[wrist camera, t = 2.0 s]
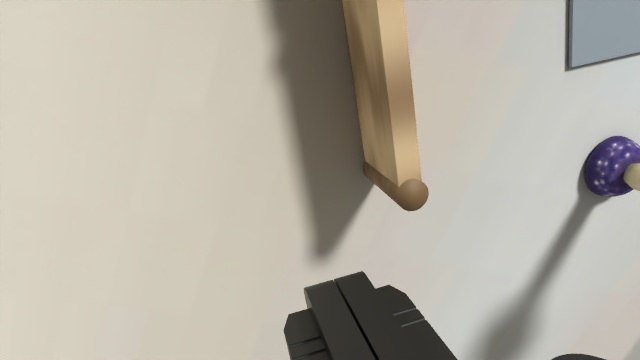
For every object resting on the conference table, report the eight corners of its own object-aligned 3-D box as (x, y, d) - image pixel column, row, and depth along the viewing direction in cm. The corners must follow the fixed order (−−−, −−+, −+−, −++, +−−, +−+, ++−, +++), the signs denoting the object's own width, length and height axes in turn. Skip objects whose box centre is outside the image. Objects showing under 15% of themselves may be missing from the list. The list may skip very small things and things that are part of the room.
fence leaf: (330, -55, 23) (364, -78, 18) (360, -60, 23) (401, -84, 18) (364, 182, 27) (399, 214, 23) (390, 176, 28) (429, 206, 23)
